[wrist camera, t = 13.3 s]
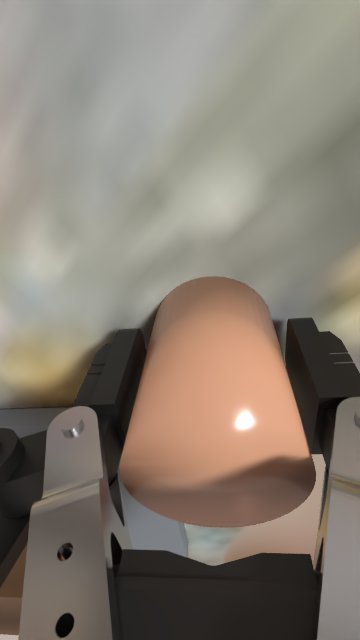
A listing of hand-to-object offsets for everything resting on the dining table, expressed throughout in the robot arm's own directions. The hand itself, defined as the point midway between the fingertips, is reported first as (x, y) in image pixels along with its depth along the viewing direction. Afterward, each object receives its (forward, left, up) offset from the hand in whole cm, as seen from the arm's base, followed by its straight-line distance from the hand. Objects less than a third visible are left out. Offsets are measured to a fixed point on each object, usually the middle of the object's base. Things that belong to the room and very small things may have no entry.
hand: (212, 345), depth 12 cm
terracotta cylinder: (0, 0, -1) cm, 1 cm away
